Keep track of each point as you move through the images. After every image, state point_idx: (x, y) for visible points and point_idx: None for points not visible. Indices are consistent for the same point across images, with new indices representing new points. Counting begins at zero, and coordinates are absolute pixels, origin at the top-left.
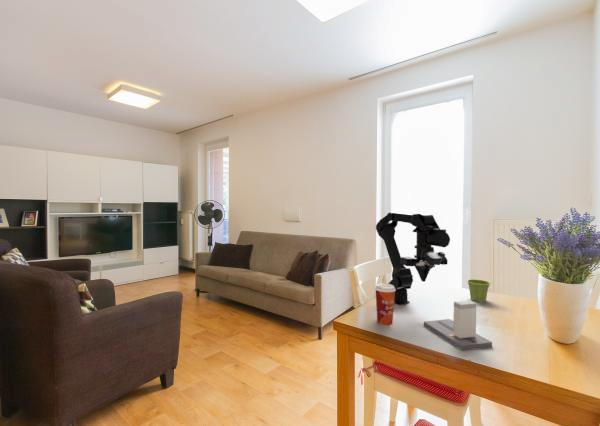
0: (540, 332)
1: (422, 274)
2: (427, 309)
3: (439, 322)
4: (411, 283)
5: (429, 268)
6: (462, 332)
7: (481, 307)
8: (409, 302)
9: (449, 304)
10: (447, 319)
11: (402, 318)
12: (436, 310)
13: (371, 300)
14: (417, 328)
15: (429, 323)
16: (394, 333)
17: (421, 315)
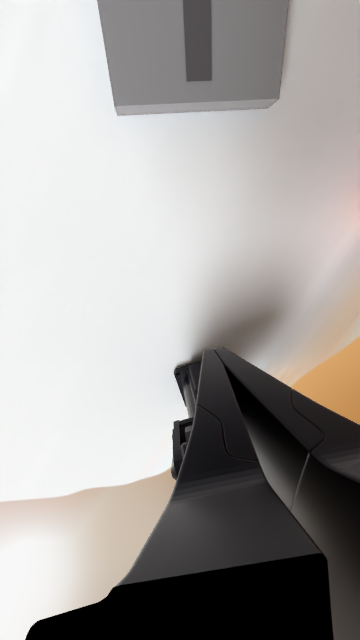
0: None
1: (288, 387)
2: (137, 305)
3: (207, 51)
4: (189, 432)
5: (225, 506)
6: None
7: None
8: (176, 369)
9: (9, 352)
10: (130, 99)
11: (298, 219)
12: (103, 291)
13: None
14: (319, 74)
15: (268, 56)
16: None
17: (201, 241)
